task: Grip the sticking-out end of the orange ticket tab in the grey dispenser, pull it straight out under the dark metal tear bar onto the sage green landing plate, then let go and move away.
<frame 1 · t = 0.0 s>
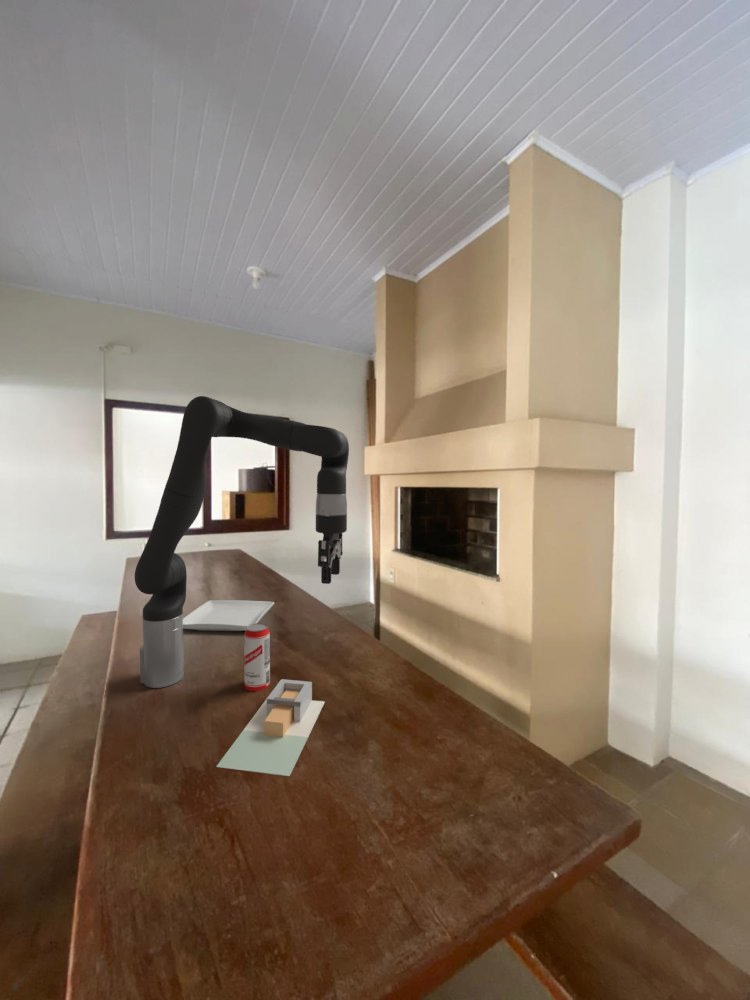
hand: (330, 578, 96), 29 cm above the table, tool pointing down, fingers open, 8 cm apart
ticket: (284, 718, 86), point 1 cm above the table, touching dispenser
dispenser: (278, 733, 82), on the table
square plate: (229, 621, 147), on the table
beer can: (257, 688, 100), on the table
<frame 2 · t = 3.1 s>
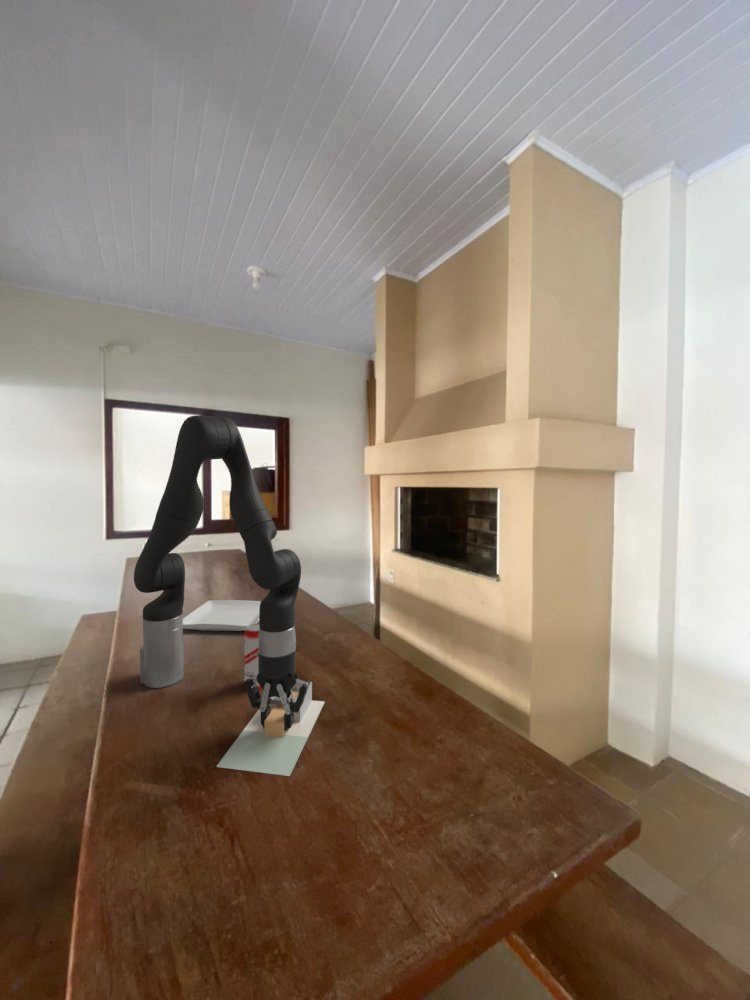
hand: (277, 727, 82), 2 cm above the table, tool pointing down, fingers closed on ticket, 4 cm apart
ticket: (284, 718, 86), point 1 cm above the table, touching dispenser, gripper
everything else where it was.
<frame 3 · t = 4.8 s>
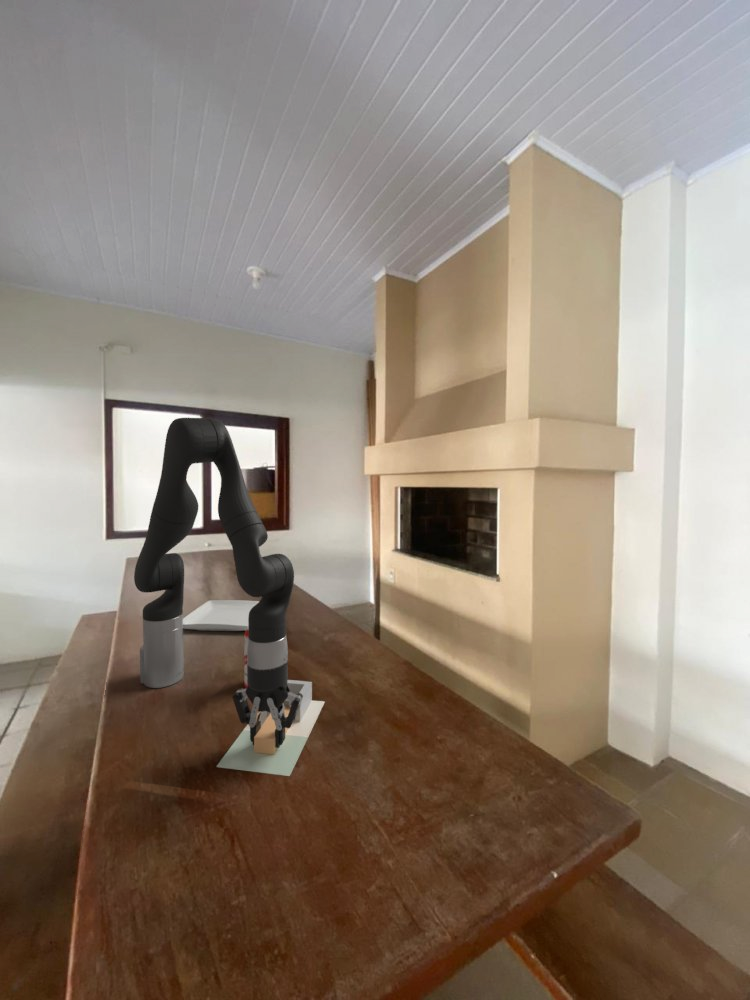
hand: (267, 743, 77), 2 cm above the table, tool pointing down, fingers closed on ticket, 4 cm apart
ticket: (276, 733, 81), point 1 cm above the table, touching gripper
everything else where it was.
when the fingers open (2 cm above the table, at t = 6.7 s): ticket stays where it is, resting on dispenser.
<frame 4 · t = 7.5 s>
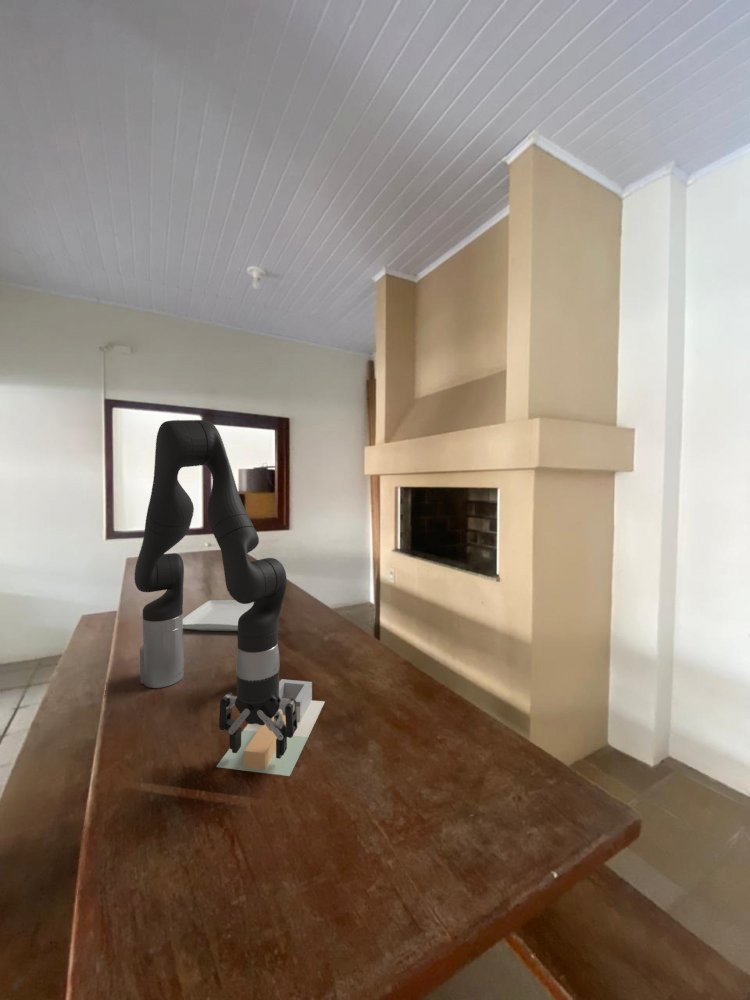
hand: (258, 752, 73), 3 cm above the table, tool pointing down, fingers open, 8 cm apart
ticket: (268, 745, 77), point 1 cm above the table, touching dispenser
everything else where it was.
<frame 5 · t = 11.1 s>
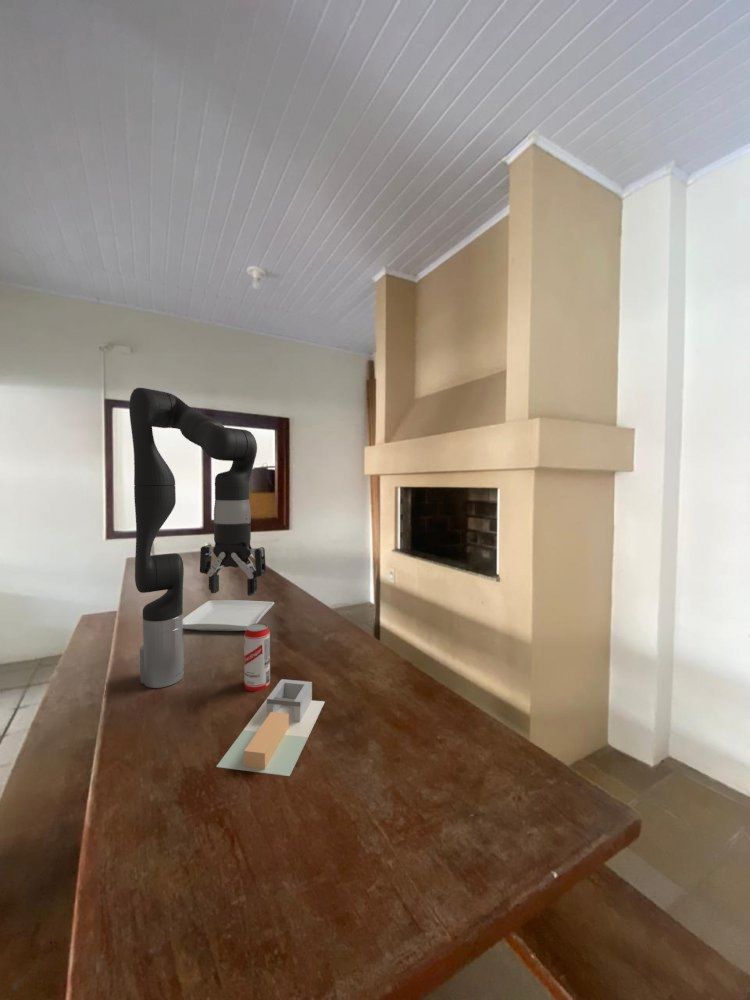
hand: (233, 593, 86), 28 cm above the table, tool pointing down, fingers open, 8 cm apart
nothing on the table moved.
at the end: ticket 1.5 cm from the target spot on the dispenser, point 1.0 cm above the dispenser's base; the gripper is holding nothing; ticket tilted 0° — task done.
